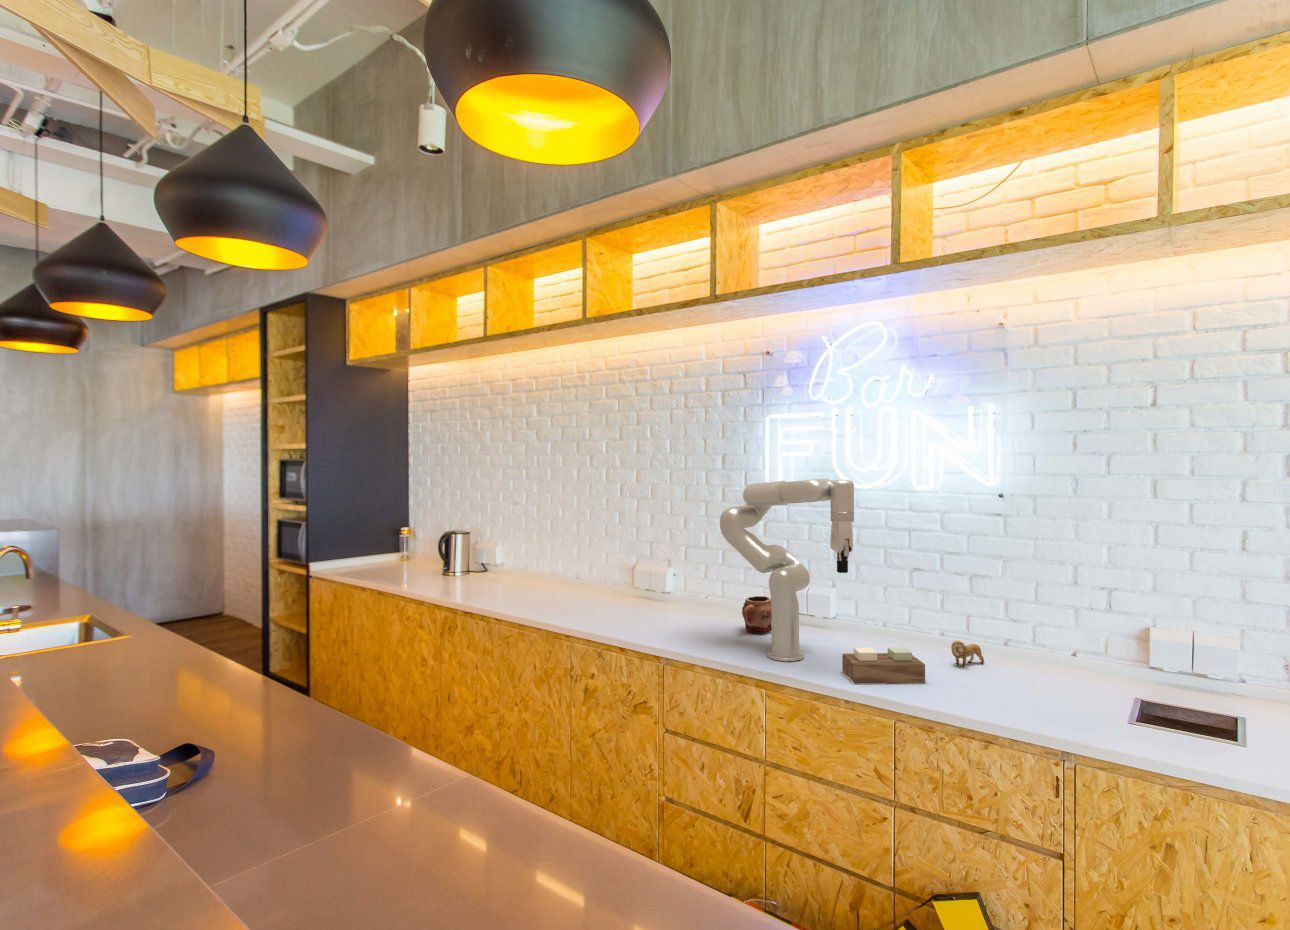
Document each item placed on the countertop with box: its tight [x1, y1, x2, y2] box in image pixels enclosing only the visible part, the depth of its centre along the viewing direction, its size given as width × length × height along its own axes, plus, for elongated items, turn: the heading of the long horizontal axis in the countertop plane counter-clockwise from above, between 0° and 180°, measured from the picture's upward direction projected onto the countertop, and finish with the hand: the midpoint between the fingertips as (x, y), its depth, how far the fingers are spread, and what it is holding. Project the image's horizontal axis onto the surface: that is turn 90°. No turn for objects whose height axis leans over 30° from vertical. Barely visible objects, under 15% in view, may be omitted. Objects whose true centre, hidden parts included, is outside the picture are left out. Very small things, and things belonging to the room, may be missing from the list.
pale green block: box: [887, 646, 913, 661], centre depth 211 cm, size 6×6×7 cm
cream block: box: [853, 647, 878, 661], centre depth 211 cm, size 6×6×7 cm
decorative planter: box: [741, 595, 772, 635], centre depth 267 cm, size 20×12×14 cm, turn 145°
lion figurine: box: [950, 639, 985, 666], centre depth 224 cm, size 15×5×9 cm, turn 120°
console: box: [841, 652, 926, 685], centre depth 211 cm, size 12×22×6 cm, turn 90°
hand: (842, 572), depth 220 cm, fingers closed
